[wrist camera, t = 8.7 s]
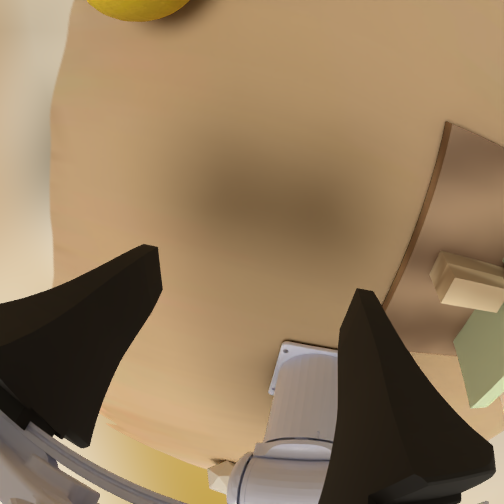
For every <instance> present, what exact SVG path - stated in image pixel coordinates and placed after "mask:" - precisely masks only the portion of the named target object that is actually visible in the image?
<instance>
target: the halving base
mask: <svg viewBox="0 0 504 504" xmlns="http://www.w3.org/2000/svg"><path fill="white" fill-rule="evenodd" d="M503 258H504V148H503V147H501V146H499V145H497V144H495V143H493V142H491V141H489V140H487V139H485V138H483V137H481V136H479V135H477V134H475V133H472V132H470V131H468V130H466V129H463V128H461V127H459V126H456V125H454V124H451V123H449V122H446V124H445V128H444V133H443V137H442V142H441V146H440V150H439V154H438V158H437V161H436V165H435V169H434V172H433V176H432V179H431V182H430V186H429V189H428V192H427V195H426V198H425V202H424V205H423V208H422V211H421V213H420V216H419V219H418V222H417V225H416V227H415V230H414V233H413V236H412V238H411V241H410V243H409V246H408V248H407V251H406V253H405V256H404V258H403V261H402V263H401V265H400V268H399V270H398V272H397V275H396V277H395V279H394V282H393V284H392V286H391V288H390V290H389V293H388V295H387V297H386V299H385V301H384V303H383V305H382V307H383V309H384V311H385V313H386V314H387V316H388V318H389V320H390V321H391V323H392V325H393V327H394V328H395V330H396V332H397V333H398V335H399V337H400V338H401V340H402V342H403V343H404V345H405V347H406V348H407V350H408V351H409V352H417V353H426V354H436V355H448V356H457V353H456V350H455V346H454V343H453V341H454V339H455V338H456V336H457V335H458V334H459V332H460V331H461V329H462V328H463V327H464V325H465V324H466V322H467V321H468V319H469V318H470V316H471V315H472V313H473V311H474V310H475V309H477V310H483V311H488V312H494V313H497V312H498V310H499V309H500V307H501V306H502V304H503V302H504V262H503V261H502V260H503Z"/></svg>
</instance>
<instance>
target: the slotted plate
mask: <svg viewBox="0 0 504 504" xmlns="http://www.w3.org/2000/svg"><path fill="white" fill-rule="evenodd" d="M502 261H503V262H504V258H503V260H502ZM453 343H454V346H455V350H456V353H457V356H458V360H459V363H460V367H461V371H462V375H463V379H464V383H465V387H466V391H467V395H468V400H469V405H470V408H484V407H488V406H489V405H490V404H491V403H492V402H493V401H494V400H495V399H496V398H498V397H499V396H500V395H501V394H502V393H503V392H504V302H503V304H502V306H501V307H500V309H499V310H498V312H497V313H494V312H488V311H483V310H477V309H475V310H474V311H473V313H472V315H471V316H470V318H469V319H468V321H467V322H466V324H465V325H464V327H463V328H462V329H461V331H460V332H459V334H458V335H457V336H456V338H455V339H454V341H453Z"/></svg>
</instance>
